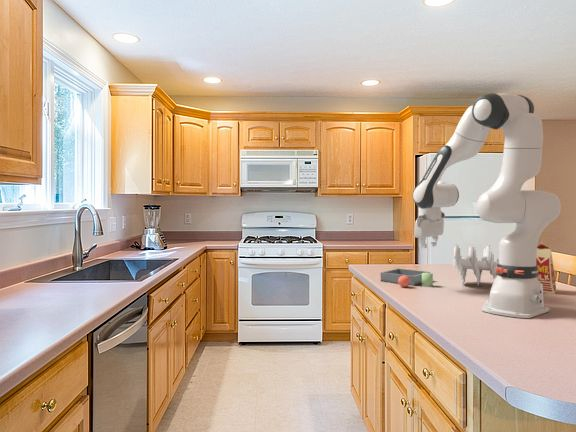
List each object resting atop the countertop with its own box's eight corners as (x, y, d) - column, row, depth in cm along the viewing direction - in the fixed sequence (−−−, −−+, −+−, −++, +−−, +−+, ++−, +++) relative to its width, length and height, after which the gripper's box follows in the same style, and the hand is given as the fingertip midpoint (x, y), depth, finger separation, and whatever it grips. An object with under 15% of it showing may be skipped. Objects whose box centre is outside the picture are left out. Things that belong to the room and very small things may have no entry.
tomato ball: (406, 288, 170) (406, 276, 170) (395, 287, 173) (396, 275, 173) (412, 286, 174) (412, 275, 173) (401, 285, 177) (401, 274, 177)
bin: (414, 285, 176) (414, 276, 176) (380, 281, 187) (380, 272, 187) (430, 280, 187) (430, 271, 187) (398, 276, 198) (398, 268, 198)
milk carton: (554, 294, 159) (555, 242, 158) (526, 291, 165) (527, 240, 164) (556, 290, 166) (557, 240, 166) (530, 287, 172) (530, 239, 171)
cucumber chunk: (429, 287, 173) (430, 274, 173) (419, 285, 176) (420, 273, 176) (434, 285, 176) (434, 273, 176) (424, 284, 179) (424, 272, 179)
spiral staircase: (518, 299, 168) (452, 292, 177) (512, 274, 183) (452, 268, 191) (525, 261, 160) (455, 255, 168) (519, 238, 175) (455, 234, 183)
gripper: (425, 215, 165) (424, 250, 166) (446, 213, 180) (446, 245, 181) (410, 215, 170) (410, 248, 170) (432, 213, 184) (432, 244, 185)
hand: (428, 247), depth 176 cm, fingers open, 8 cm apart
